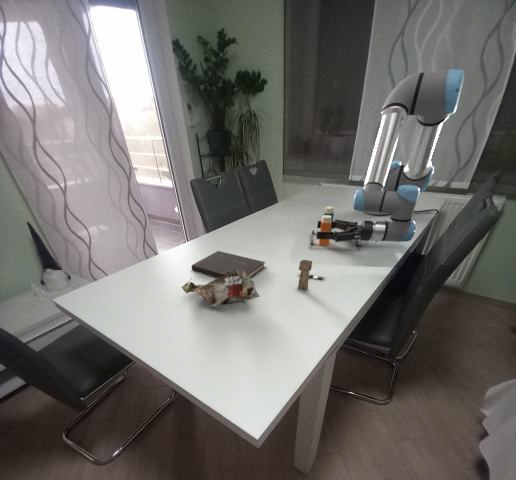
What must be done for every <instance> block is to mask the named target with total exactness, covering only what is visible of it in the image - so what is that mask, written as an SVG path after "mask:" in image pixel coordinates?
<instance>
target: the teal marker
mask: <svg viewBox="0 0 516 480" xmlns="http://www.w3.org/2000/svg"><path fill="white" fill-rule="evenodd" d="M334 210H335V207H334V206H326V207H325V210H324V211H323V216H324V215H330V216H331V221H334V218H335V217H334V216H335V211H334ZM332 230H333V229H332V228H331V231H330V232H333V231H332Z"/></svg>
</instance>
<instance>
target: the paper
mask: <svg viewBox="0 0 516 480" xmlns="http://www.w3.org/2000/svg"><path fill="white" fill-rule="evenodd" d="M180 288H181V289H182V290H183V292H184V293H186V294H188V293H195V294H198V295H200V296H201V298H202V299H206V300H207V302H209V303H210V308H214V307H215V306H222V305H232V304H239V303H240V304H241V303H245V301H250V300H253V299H256V298H259V297H261V295H260V294H259V292H258V291H257V289H256V285H255V281H254V280H253V279H252V278H249V277H248V276H247V274H246V273H245V271H235V270H232V271H230V272H228V273H226V274H225V275H223V276H221V277H219V278H217V277H216V278H214V279H212V280H211V281H209V282H208V283H206V284H198V283H197V284H195V283H194V282H192V278H190V279H189V281H187V282H185V283H184V284H183V285H182V286H181V287H180Z"/></svg>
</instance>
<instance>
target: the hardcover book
mask: <svg viewBox="0 0 516 480" xmlns="http://www.w3.org/2000/svg"><path fill="white" fill-rule="evenodd" d="M265 263H266V261H263V260H258V259H254V258H250V257H245V256H242V255H237V254H233V253H229V252H224V251H221V250H217V251H215V252H213V253H211V254H209V255H208V256H206V257H204V258H202V259H200V260H198V261H197V262H195V263H193V264H192V265H191V270H192V271H194V272H196V273H201V274H204V275H207V276H210V277H213V278H216V279H217V278H219V277H221V276H223V275H225V274H226V273H228V272H230V271H232V270H235V271H245V273H246V274H247V276H248V277H249V278H250V279H252V278H253V277H254V276H256V275H257V274H259V273H260V272H261V271H263V270H265V268H266V266H265Z"/></svg>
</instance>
